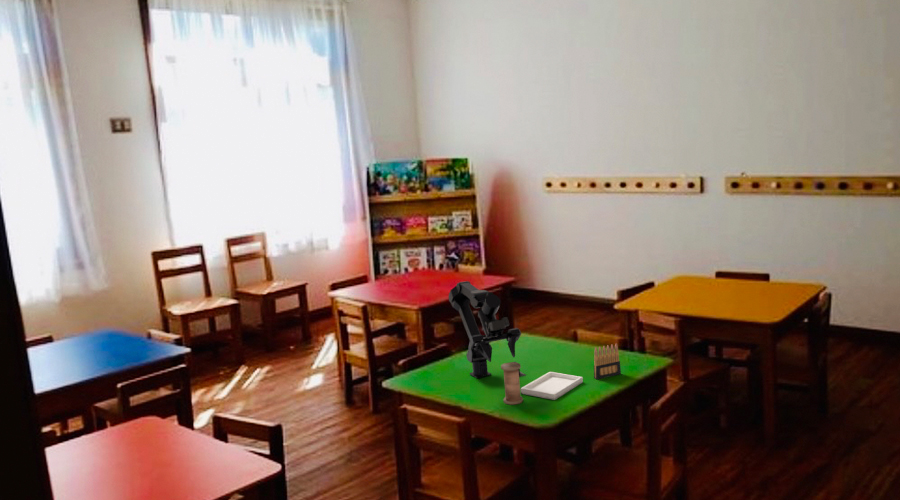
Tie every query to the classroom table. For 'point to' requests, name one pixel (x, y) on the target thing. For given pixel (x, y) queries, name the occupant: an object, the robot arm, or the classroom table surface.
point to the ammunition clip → (606, 362)
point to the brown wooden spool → (512, 383)
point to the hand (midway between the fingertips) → (502, 359)
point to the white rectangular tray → (551, 385)
